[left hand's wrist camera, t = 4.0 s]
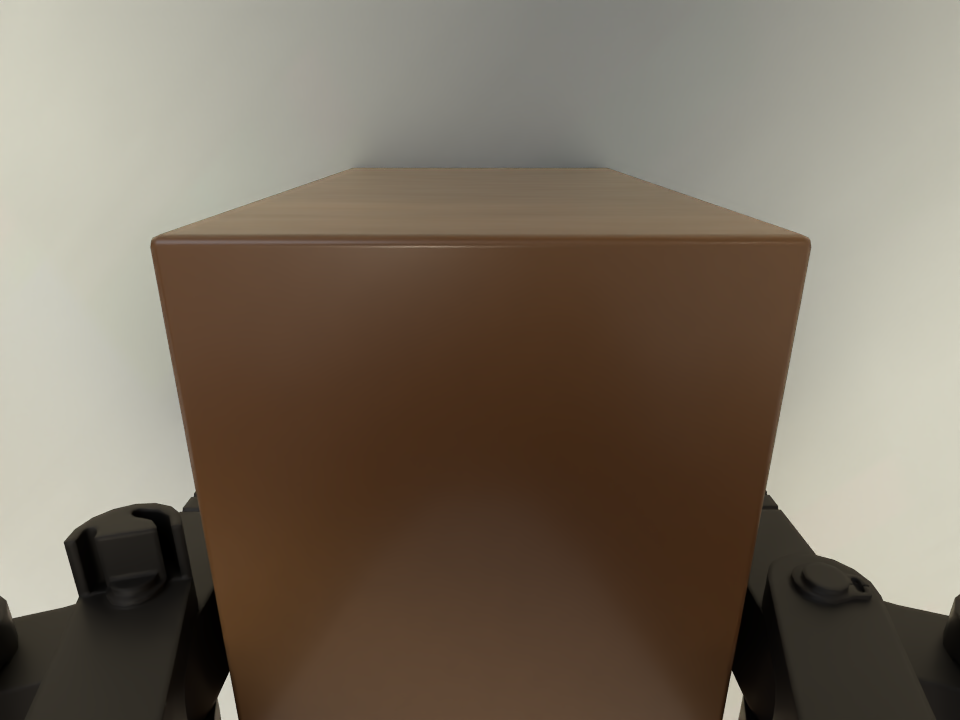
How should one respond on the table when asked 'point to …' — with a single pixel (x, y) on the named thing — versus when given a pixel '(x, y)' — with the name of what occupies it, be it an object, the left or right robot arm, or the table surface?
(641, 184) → the beam
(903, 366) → the table surface
